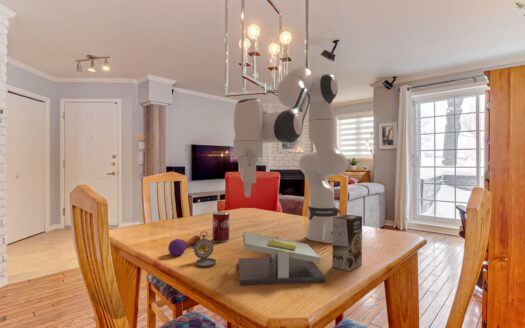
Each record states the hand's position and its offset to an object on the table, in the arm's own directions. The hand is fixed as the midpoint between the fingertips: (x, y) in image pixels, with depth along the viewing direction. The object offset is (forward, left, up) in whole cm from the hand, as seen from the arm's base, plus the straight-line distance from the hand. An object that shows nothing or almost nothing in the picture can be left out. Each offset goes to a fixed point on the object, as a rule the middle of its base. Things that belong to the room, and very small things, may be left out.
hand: (247, 196), depth 86 cm
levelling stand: (-10, 0, -23) cm, 25 cm away
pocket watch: (+13, -10, -24) cm, 29 cm away
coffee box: (-33, -3, -24) cm, 41 cm away
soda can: (+9, -38, -24) cm, 46 cm away
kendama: (+22, -26, -24) cm, 42 cm away
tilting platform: (-10, 0, -16) cm, 19 cm away
